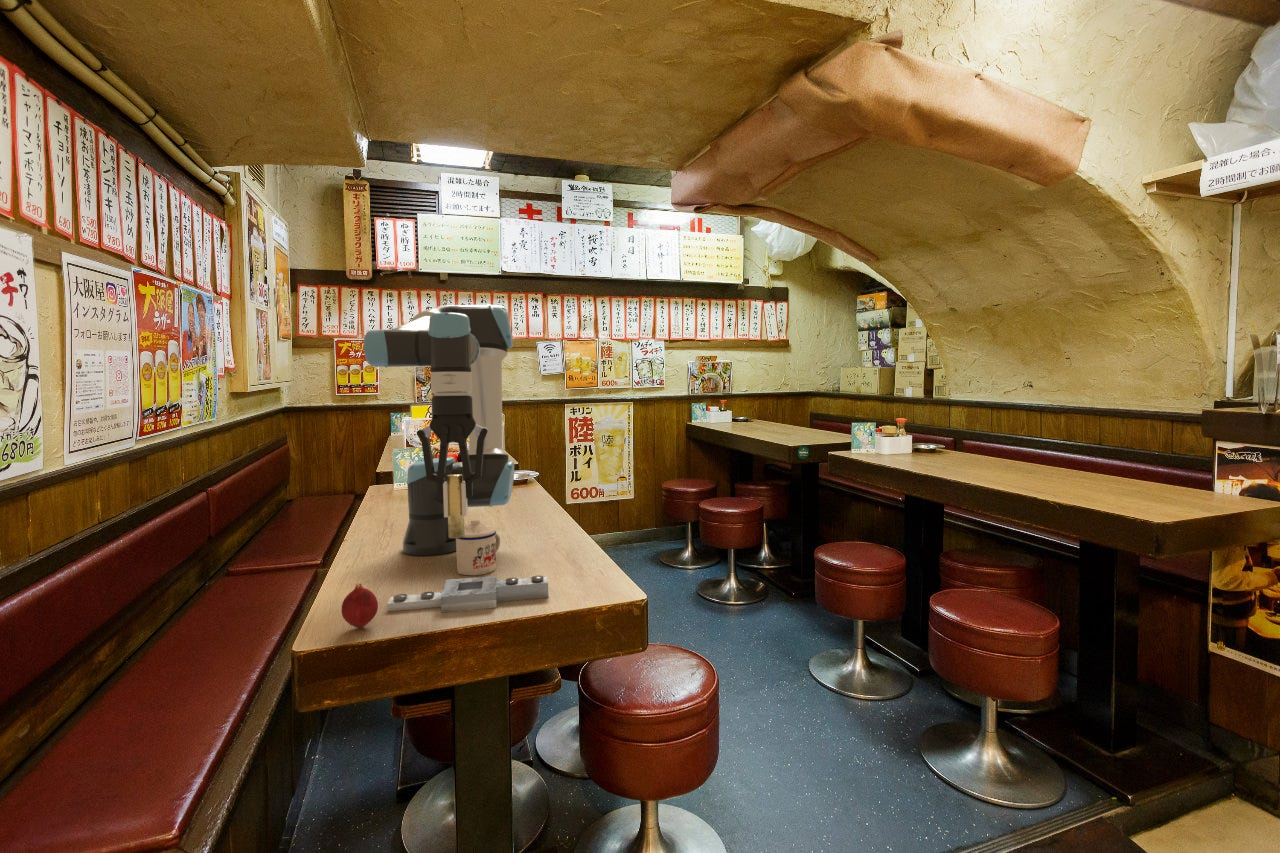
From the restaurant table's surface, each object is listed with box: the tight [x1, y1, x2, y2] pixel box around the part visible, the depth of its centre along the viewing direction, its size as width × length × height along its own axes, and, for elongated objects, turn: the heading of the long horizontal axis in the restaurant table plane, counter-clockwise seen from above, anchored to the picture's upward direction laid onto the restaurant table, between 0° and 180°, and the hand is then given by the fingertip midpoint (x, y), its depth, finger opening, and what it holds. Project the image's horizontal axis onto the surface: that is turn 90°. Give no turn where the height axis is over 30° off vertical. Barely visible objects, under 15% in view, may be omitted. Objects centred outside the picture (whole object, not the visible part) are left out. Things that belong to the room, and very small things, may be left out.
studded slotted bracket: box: [386, 575, 549, 613], centre depth 117 cm, size 10×30×4 cm, turn 102°
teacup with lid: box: [456, 518, 501, 577], centre depth 137 cm, size 12×9×12 cm
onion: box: [341, 582, 379, 629], centre depth 104 cm, size 6×6×8 cm
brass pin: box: [446, 474, 465, 538], centre depth 116 cm, size 3×3×12 cm
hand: (456, 515), depth 116 cm, fingers closed on brass pin, 3 cm apart
